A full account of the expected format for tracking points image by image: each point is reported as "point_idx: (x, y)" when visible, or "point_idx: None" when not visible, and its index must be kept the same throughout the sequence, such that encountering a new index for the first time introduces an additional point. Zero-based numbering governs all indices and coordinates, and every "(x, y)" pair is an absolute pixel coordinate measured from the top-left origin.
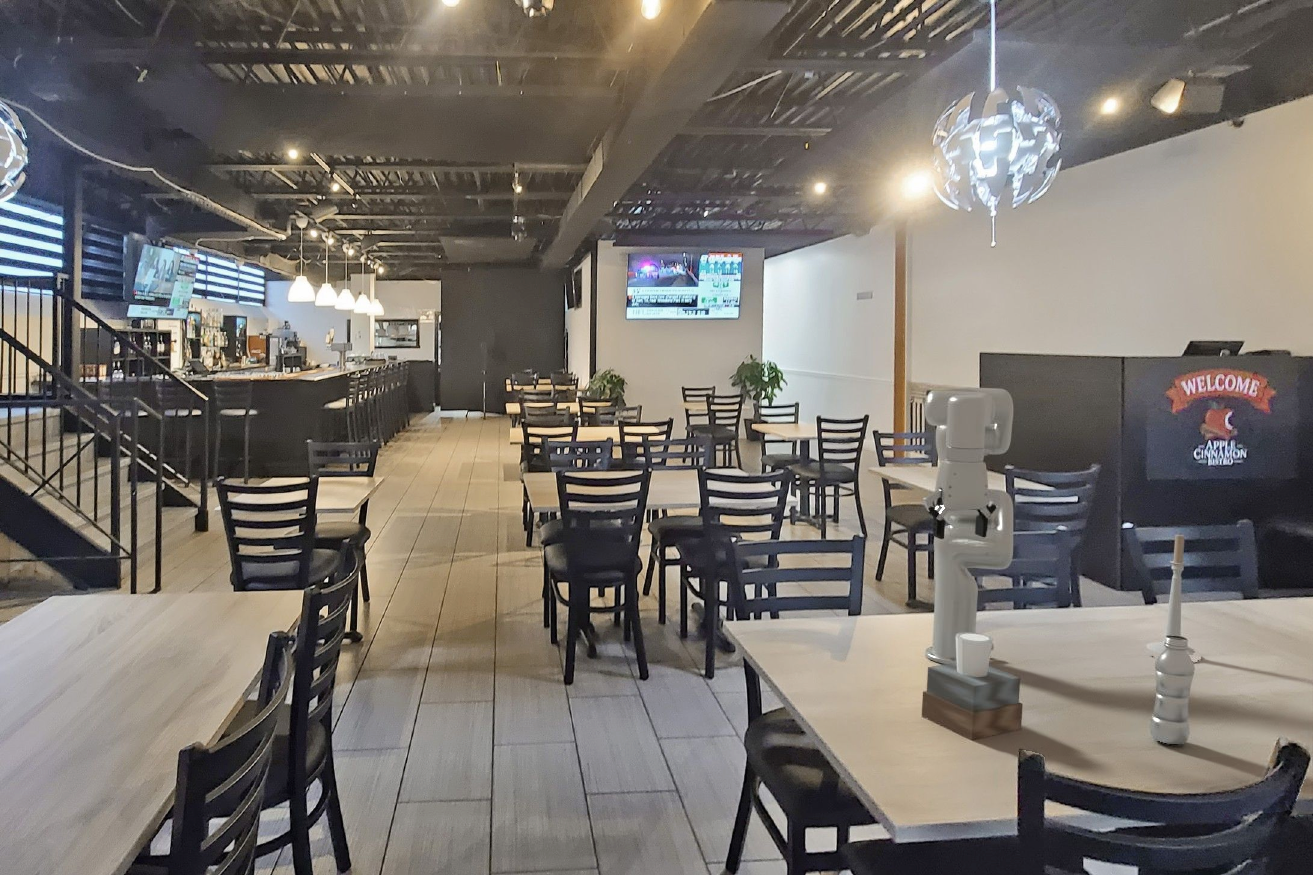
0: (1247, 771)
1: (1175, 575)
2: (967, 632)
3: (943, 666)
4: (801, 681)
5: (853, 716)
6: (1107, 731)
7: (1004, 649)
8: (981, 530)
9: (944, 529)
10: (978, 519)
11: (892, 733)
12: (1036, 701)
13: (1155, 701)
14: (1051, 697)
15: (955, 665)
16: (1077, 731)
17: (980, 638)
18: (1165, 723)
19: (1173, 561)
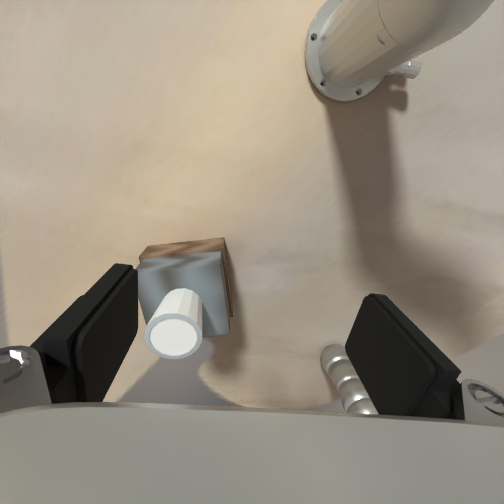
0: (333, 397)
1: None
2: (179, 316)
3: (156, 277)
4: (26, 63)
5: (60, 222)
6: (306, 324)
7: (463, 41)
8: (360, 360)
9: (116, 370)
10: (406, 381)
11: (88, 276)
12: (310, 245)
13: (338, 374)
14: (336, 240)
15: (177, 278)
16: (280, 317)
17: (180, 343)
18: (327, 373)
19: None
